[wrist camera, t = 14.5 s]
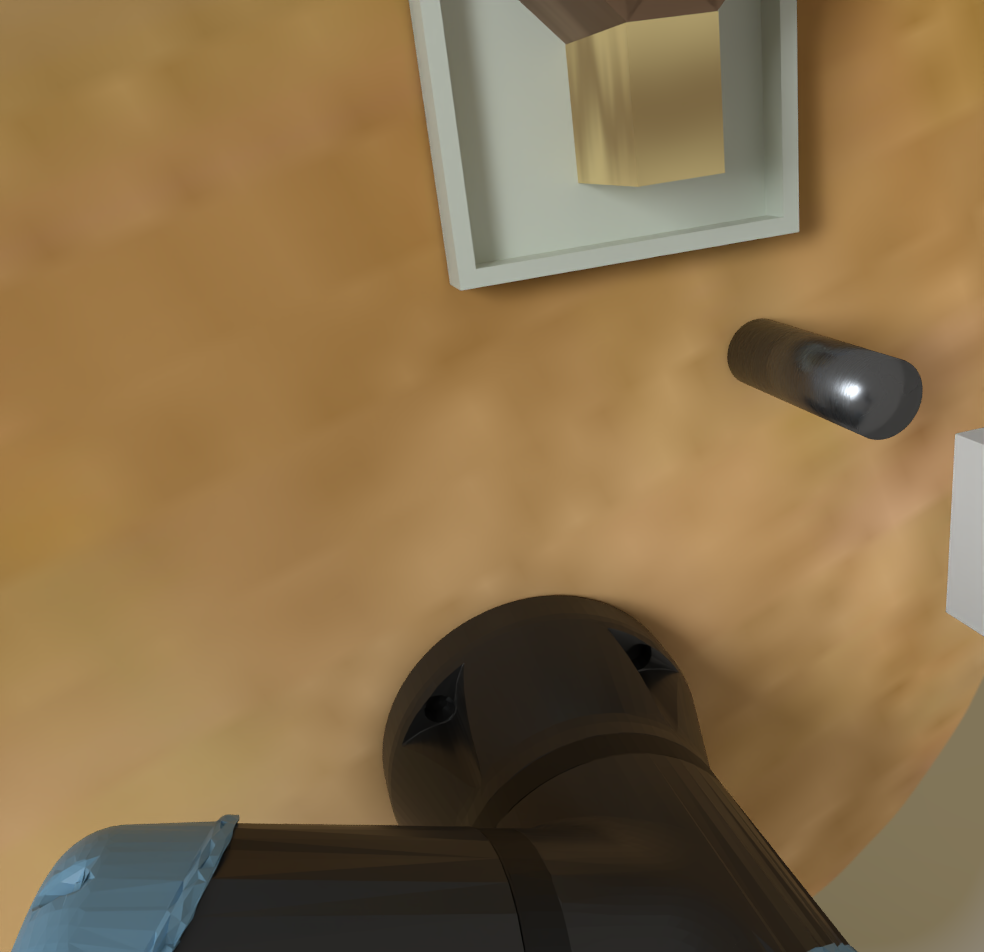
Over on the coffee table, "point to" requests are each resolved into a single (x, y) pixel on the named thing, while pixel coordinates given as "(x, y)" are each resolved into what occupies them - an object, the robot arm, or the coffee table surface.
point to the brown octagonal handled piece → (641, 87)
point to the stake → (827, 377)
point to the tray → (551, 149)
